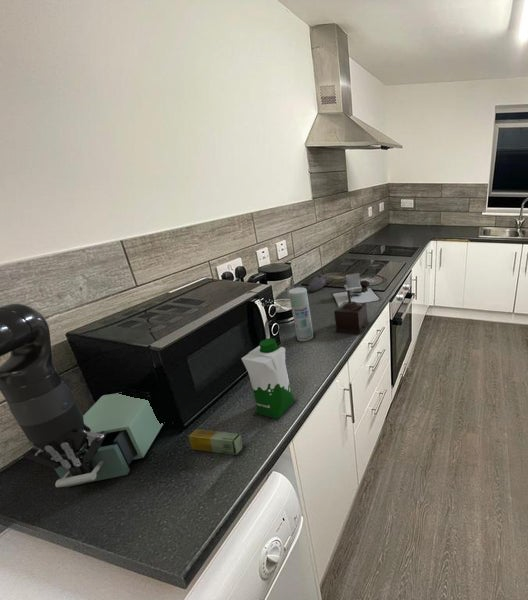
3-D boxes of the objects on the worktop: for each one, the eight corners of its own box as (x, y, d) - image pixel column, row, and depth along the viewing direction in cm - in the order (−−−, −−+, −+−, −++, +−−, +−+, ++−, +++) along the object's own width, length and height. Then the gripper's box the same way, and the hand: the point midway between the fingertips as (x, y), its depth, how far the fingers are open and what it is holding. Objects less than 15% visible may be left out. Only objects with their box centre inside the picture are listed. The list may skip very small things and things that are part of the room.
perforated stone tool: (313, 294, 170) (311, 282, 168) (304, 293, 172) (303, 281, 170) (328, 285, 183) (327, 273, 180) (321, 284, 185) (319, 273, 182)
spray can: (297, 342, 123) (288, 294, 116) (296, 335, 129) (288, 288, 121) (314, 339, 125) (307, 291, 118) (313, 332, 131) (305, 286, 123)
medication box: (243, 447, 77) (241, 433, 76) (236, 455, 75) (234, 441, 74) (199, 441, 79) (196, 428, 78) (190, 449, 76) (187, 435, 75)
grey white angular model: (379, 299, 160) (378, 278, 156) (338, 306, 154) (336, 284, 150) (370, 287, 177) (368, 267, 173) (332, 293, 171) (330, 273, 166)
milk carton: (298, 400, 92) (287, 340, 85) (277, 422, 84) (262, 358, 77) (274, 394, 95) (260, 335, 87) (251, 415, 87) (234, 352, 80)
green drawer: (116, 492, 66) (101, 465, 63) (50, 506, 64) (31, 479, 61) (155, 429, 82) (144, 405, 79) (103, 439, 80) (90, 414, 77)
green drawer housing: (143, 457, 75) (128, 426, 72) (80, 470, 73) (61, 438, 69) (168, 415, 88) (157, 386, 85) (116, 424, 86) (102, 395, 82)
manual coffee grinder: (361, 334, 128) (357, 292, 121) (335, 332, 130) (330, 290, 123) (373, 317, 142) (370, 279, 135) (350, 315, 144) (346, 278, 137)
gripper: (100, 390, 64) (131, 454, 71) (19, 403, 61) (59, 468, 68) (75, 416, 57) (112, 484, 64) (-17, 432, 55) (32, 501, 61)
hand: (85, 475), depth 66 cm, fingers closed
